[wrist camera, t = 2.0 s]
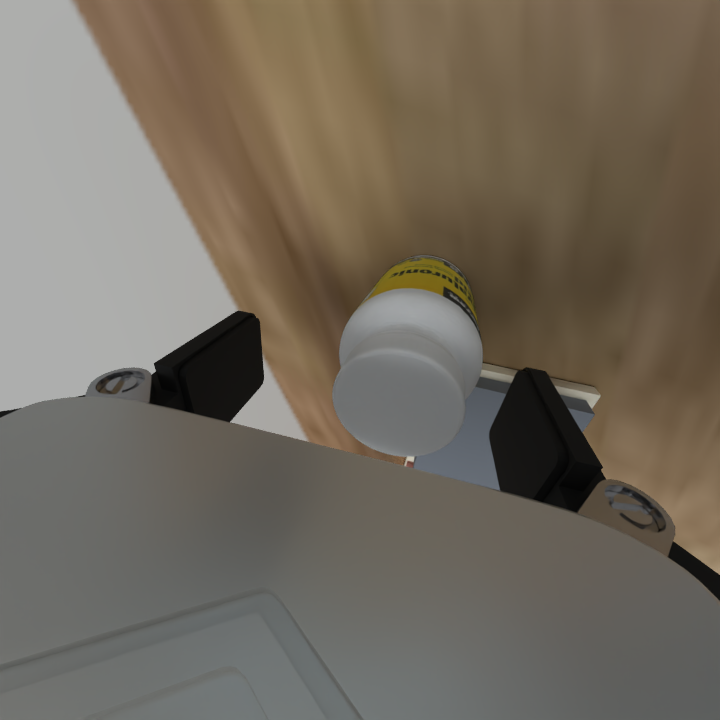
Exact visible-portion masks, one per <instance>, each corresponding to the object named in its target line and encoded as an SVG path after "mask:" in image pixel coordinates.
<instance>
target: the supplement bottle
mask: <svg viewBox="0 0 720 720" xmlns="http://www.w3.org/2000/svg"><path fill="white" fill-rule="evenodd" d="M339 358H340V365H341V369H340V371H339V373H338V375H337V377H336V379H335V382H334V386H333V394H332V396H333V404H334V408H335V411H336V414H337V416H338V418H339V420H340V421H341V423H342V424H343V426H344V427H345V428H346V429H347V431H348V432H349V433H350V434H352V435H353V436H354V437H355V438H356V439H357V440H359V441H360V442H362V443H363V444H365V445H366V446H368V447H370V448H372V449H374V450H377V451H380V452H382V453H386V454H390V455H395V456H403V457H413V456H420V455H426V454H429V453H433V452H435V451H437V450H439V449H441V448H443V447H445V446H446V445H447V444H449V443H450V442H451V441H452V440H453V439H454V438H455V437H456V435H457V434H458V432H459V431H460V429H461V427H462V425H463V422H464V418H465V410H466V407H465V400H466V399H467V398H468V396H469V395H470V394H471V392H472V391H473V389H474V388H475V386H476V384H477V382H478V380H479V377H480V374H481V370H482V363H483V349H482V342H481V336H480V331H479V326H478V320H477V315H476V309H475V305H474V298H473V294H472V291H471V288H470V285H469V283H468V281H467V279H466V278H465V276H464V275H463V273H462V272H461V271H460V270H459V269H458V268H457V267H456V266H454V265H453V264H452V263H450V262H448V261H446V260H444V259H442V258H439V257H435V256H428V255H422V256H414V257H410V258H407V259H404V260H402V261H400V262H398V263H397V264H395V265H394V266H393V267H391V268H390V269H389V270H388V271H387V272H386V273H385V274H384V275H383V276H382V278H381V279H380V280H379V281H378V283H377V284H376V285H375V286H374V288H373V289H372V290H371V291H370V293H369V294H368V295H367V297H366V298H365V299H364V300H363V302H362V303H361V304H360V305H359V307H358V308H357V309H356V310H355V312H354V313H353V314H352V316H351V318H350V319H349V321H348V323H347V325H346V326H345V329H344V331H343V334H342V338H341V342H340V349H339Z"/></svg>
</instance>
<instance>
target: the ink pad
mask: <svg viewBox="0 0 720 720" xmlns="http://www.w3.org/2000/svg"><path fill="white" fill-rule="evenodd" d="M510 385H511V383H506V382H502V381H497V380H493V379H488V378H484V377H479V380H478V382H477V384H476V386H475V388H474V389H473V391H472V392H471V394H470V395H469V396H468V398H467V399H466V400H465V407H466V410H465V418H464V422H463V425H462V427H461V429H460V431H459V432H458V434H457V435H456V437H455V438H454V439H453V440H452V441H451V442H450V443H449V444H447V445H446V446H445V447H443V448H441V449H439V450H437V451H435V452H433V453H429V454H426V455H420V456H415V457H414V464H413V468H414V469H418V470H422V471H426V472H430V473H434V474H438V475H442V476H445V477H449V478H453V479H457V480H461V481H465V482H469V483H473V484H477V485H481V486H484V487H488V488H492V489H496V490H500V488H499V483H498V478H497V473H496V469H495V464H494V459H493V454H492V450H491V445H490V440H489V431H490V428H491V426H492V424H493V422H494V419H495V417H496V415H497V413H498V411H499V409H500V406H501V404H502V402H503V400H504V398H505V396H506V394H507V391H508V389H509V387H510ZM560 396H561V398H562V399H563V401H564V403H565V404H566V406H567V408H568V410H569V411H570V413H571V415H572V416H573V418H574V420H575V421H576V423H577V425H578V426H579V428H580V430H581V431H582V432H583V431H584V429H585V428H586V427H587V425H588V424H589V422H590V421H591V420H592V418H593V417H594V415H595V414H594V412H593V410H592V409H591V407H590V406H589V404H588V402H587V401H586V400H582V399H577V398H573V397H568V396H564V395H560Z"/></svg>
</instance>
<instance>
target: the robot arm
mask: <svg viewBox="0 0 720 720" xmlns="http://www.w3.org/2000/svg"><path fill="white" fill-rule="evenodd" d="M154 366H155V369H156V372H155V373H153V374H152V375H151V373H150V372H149V371H147V370H145V369H142V368H123V369H118V370H114V371H111V372H108V373H105V374H103V375H101V376H99V377H98V378H96V379H95V380H94V381H93V382H91V384H90V385H89V387H88V389H87V392H86V395H83V396H78V397H70V398H61V399H54V400H48V401H42V402H38V403H35V404H32V405H29V406H26V407H24V408H19V409H14V410H8V411H1V412H0V720H720V575H719V574H718V573H716V572H715V571H713V570H712V569H711V568H709V567H708V566H707V565H705V564H704V563H702V562H701V561H700V560H698V559H697V558H695V557H694V556H693V555H691V554H690V553H689V552H687V551H686V550H684V549H683V548H682V547H680V546H679V545H678V544H676V543H675V542H673V539H674V536H675V526H674V524H673V521H672V519H671V517H670V516H669V515H668V514H667V512H666V511H665V510H664V509H663V508H662V507H661V506H660V505H659V504H658V503H657V502H656V501H655V500H654V499H652V498H651V497H650V496H648V495H647V494H645V493H644V492H643V491H641V490H639V489H637V488H635V487H633V486H632V485H629V484H627V483H624V482H621V481H617V480H612V479H608V480H606V478H605V477H604V475H603V473H602V472H601V469H602V468H603V467H602V465H601V463H600V462H599V460H598V458H597V457H596V455H595V453H594V452H593V450H592V448H591V447H590V445H589V443H588V441H587V440H586V438H585V436H584V435H583V433H582V431H581V430H580V428H579V426H578V425H577V423H576V421H575V420H574V418H573V416H572V415H571V413H570V411H569V410H568V408H567V406H566V404H565V403H564V401H563V399H562V398H561V396H560V394H559V393H558V391H557V389H556V388H555V386H554V384H553V383H552V381H551V379H550V378H549V376H548V374H547V373H546V372H545V371H542V370H537V369H532V368H527V367H526V368H524V370H523V371H520V370H519V371H517V373H516V374H515V376H514V379H513V381H512V383H511V385H510V387H509V389H508V391H507V394H506V396H505V398H504V400H503V402H502V404H501V406H500V409H499V411H498V413H497V415H496V417H495V419H494V422H493V424H492V426H491V428H490V431H489V440H490V445H491V450H492V454H493V459H494V464H495V469H496V473H497V478H498V483H499V488H500V490H496V489H492V488H488V487H484V486H481V485H477V484H473V483H469V482H465V481H461V480H457V479H453V478H449V477H445V476H442V475H438V474H434V473H430V472H426V471H422V470H418V469H414V468H410V467H406V466H402V465H398V464H394V463H390V462H386V461H382V460H378V459H374V458H370V457H366V456H362V455H358V454H354V453H350V452H346V451H342V450H338V449H334V448H330V447H326V446H322V445H318V444H314V443H311V442H307V441H302V440H298V439H294V438H291V437H287V436H282V435H279V434H275V433H271V432H266V431H263V430H259V429H255V428H251V427H247V426H242V425H239V424H235V423H230V421H231V420H232V419H233V418H234V417H235V415H236V414H237V413H238V412H239V411H240V410H241V408H242V407H243V406H244V405H245V404H246V403H247V402H248V401H249V399H250V398H251V397H252V396H253V395H254V394H255V392H256V391H257V390H258V389H259V388H260V387H261V385H262V384H263V380H264V370H263V358H262V345H261V332H260V321H259V319H258V318H256V316H255V315H254V314H253V313H248V312H243V311H236V312H235V313H233V314H232V315H230V316H228V317H227V318H225V319H224V320H222V321H221V322H219V323H217V324H216V325H214V326H213V327H211V328H210V329H208V330H206V331H205V332H203V333H201V334H200V335H198V336H197V337H195V338H194V339H192V340H190V341H189V342H187V343H185V344H184V345H182V346H181V347H179V348H178V349H176V350H174V351H173V352H171V353H170V354H168V355H166V356H165V357H163V358H162V359H160V360H158V361H157V362H155V363H154Z"/></svg>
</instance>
